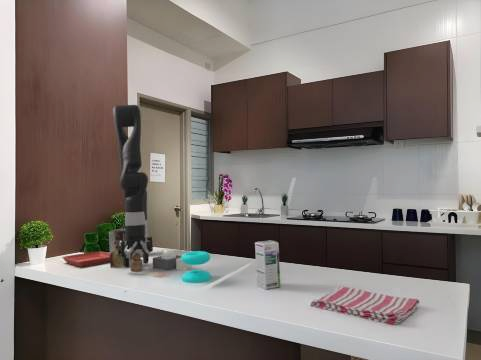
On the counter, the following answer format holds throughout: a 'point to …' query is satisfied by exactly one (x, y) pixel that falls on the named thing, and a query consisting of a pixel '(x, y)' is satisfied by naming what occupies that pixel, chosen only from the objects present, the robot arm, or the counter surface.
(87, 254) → the plant saucer
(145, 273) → the board
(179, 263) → the die
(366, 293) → the dish towel
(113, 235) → the coffee box
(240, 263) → the counter surface
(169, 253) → the dome
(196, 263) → the donuts
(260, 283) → the syrup box
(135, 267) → the pawn
